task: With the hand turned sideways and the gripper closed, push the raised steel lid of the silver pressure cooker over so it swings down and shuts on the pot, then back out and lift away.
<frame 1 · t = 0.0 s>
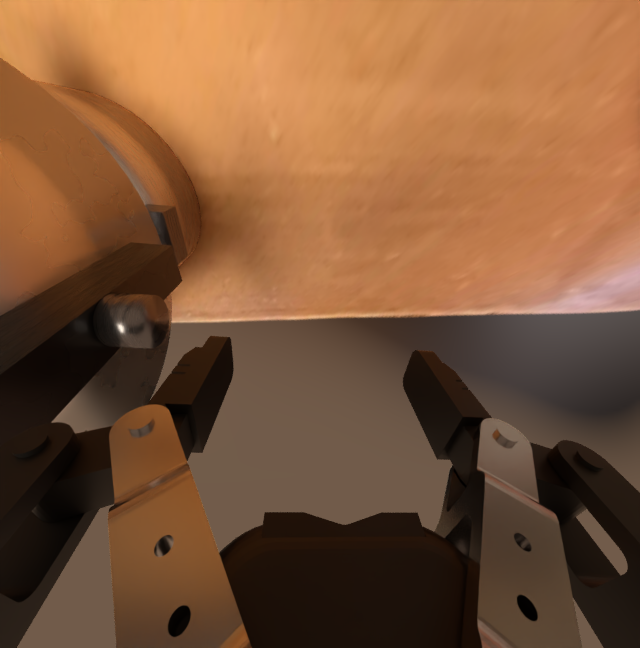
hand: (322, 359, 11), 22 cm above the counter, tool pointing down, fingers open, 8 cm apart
cooker pot: (117, 198, 26), on the counter
cooker lid: (92, 318, 10), point 21 cm above the counter, hinge at 90.0°
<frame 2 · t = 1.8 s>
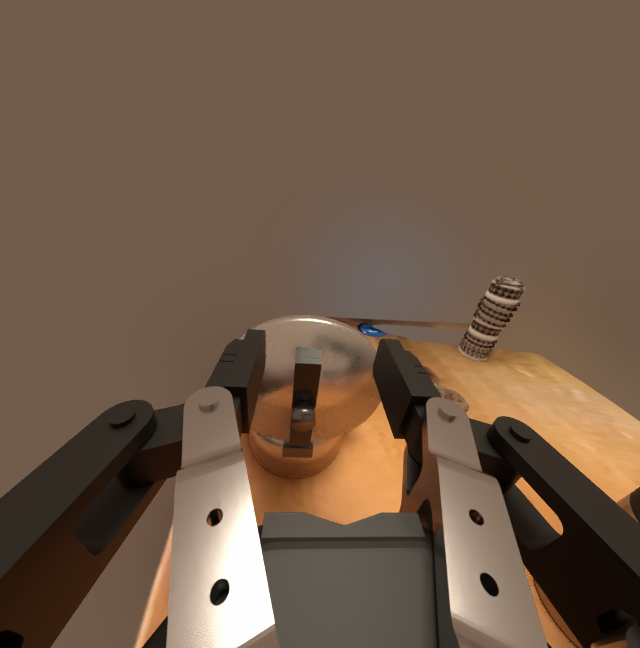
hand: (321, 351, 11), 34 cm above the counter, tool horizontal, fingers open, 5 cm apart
cooker pot: (296, 430, 45), on the counter
fish fossil: (410, 393, 59), on the counter
decorative candle: (471, 353, 77), on the counter
cooker lid: (303, 402, 25), point 21 cm above the counter, hinge at 90.0°
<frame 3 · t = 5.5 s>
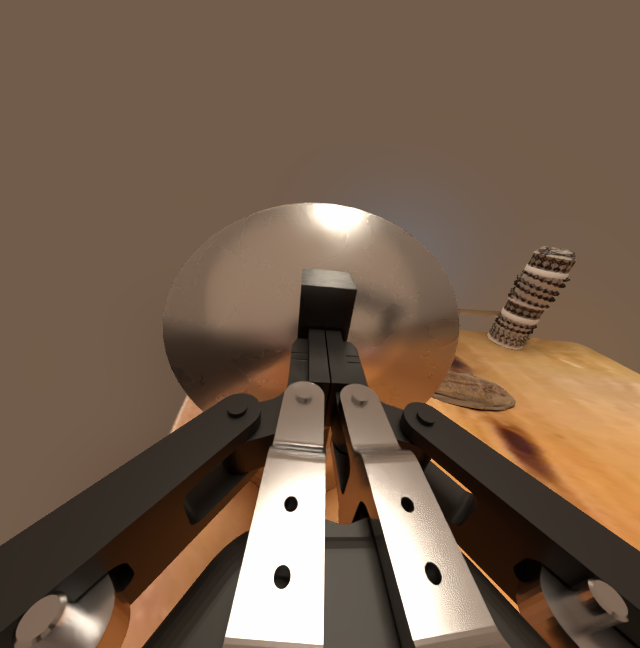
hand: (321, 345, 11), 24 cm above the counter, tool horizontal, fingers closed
cooker pot: (298, 430, 34), on the counter
fish fossil: (439, 385, 47), on the counter
decorative candle: (504, 341, 66), on the counter
cooker lid: (315, 377, 14), point 21 cm above the counter, hinge at 89.8°, touching gripper
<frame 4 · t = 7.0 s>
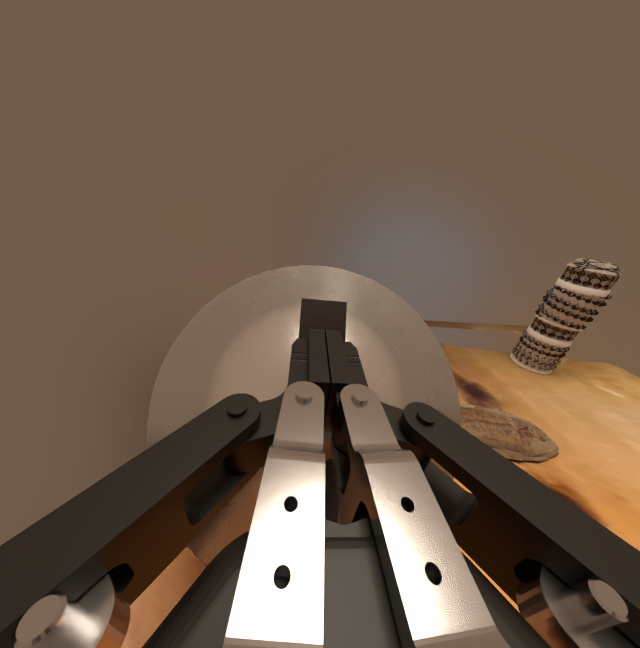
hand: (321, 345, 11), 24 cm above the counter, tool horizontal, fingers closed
fish fossil: (464, 425, 40), on the counter
decorative candle: (529, 363, 58), on the counter
cooker lid: (315, 416, 12), point 21 cm above the counter, hinge at 50.1°, touching gripper
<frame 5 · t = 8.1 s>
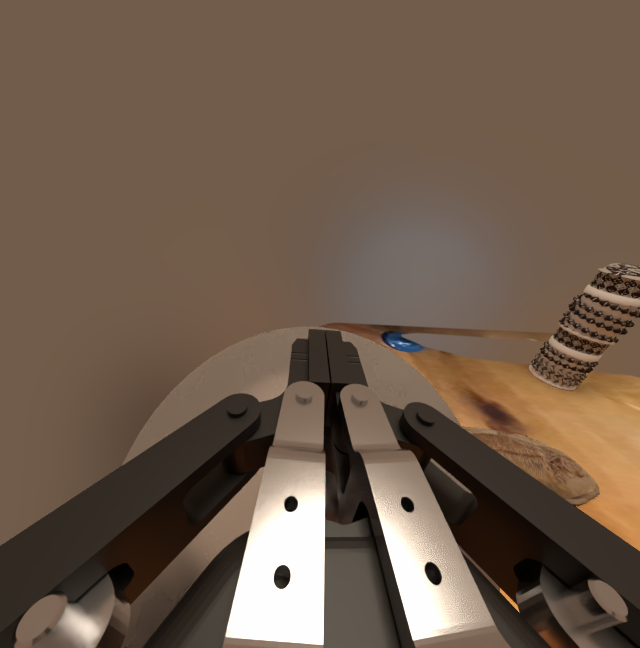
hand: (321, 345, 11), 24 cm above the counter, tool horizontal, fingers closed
fish fossil: (486, 456, 35), on the counter
decorative candle: (550, 377, 53), on the counter
cooker lid: (316, 500, 10), point 19 cm above the counter, hinge at 32.1°, touching gripper
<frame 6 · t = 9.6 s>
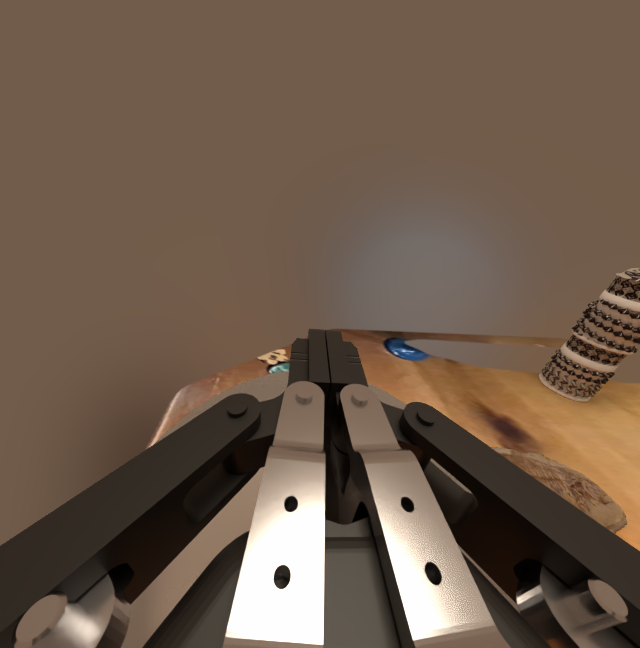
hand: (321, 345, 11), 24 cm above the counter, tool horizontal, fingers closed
fish fossil: (501, 479, 32), on the counter
decorative candle: (562, 387, 50), on the counter
cooker lid: (312, 596, 8), point 18 cm above the counter, hinge at 25.1°
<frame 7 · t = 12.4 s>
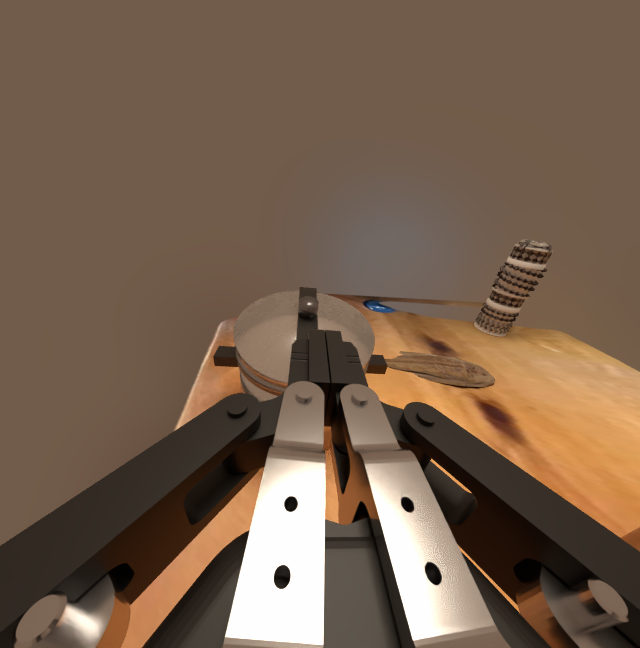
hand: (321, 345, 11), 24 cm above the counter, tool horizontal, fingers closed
cooker pot: (299, 403, 39), on the counter
fish fossil: (426, 367, 52), on the counter
decorative candle: (489, 329, 70), on the counter
cooker lid: (307, 318, 30), point 16 cm above the counter, hinge at 8.8°
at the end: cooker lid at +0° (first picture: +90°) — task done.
